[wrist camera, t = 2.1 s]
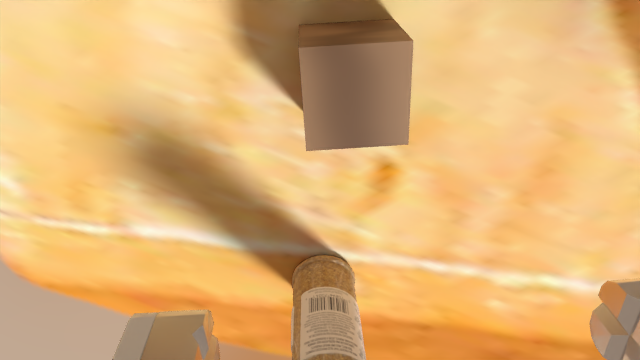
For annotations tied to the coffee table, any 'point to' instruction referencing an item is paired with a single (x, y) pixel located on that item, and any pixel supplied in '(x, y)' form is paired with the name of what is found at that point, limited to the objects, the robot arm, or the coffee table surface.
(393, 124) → the walnut cube
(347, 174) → the coffee table surface
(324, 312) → the sprinkles bottle
